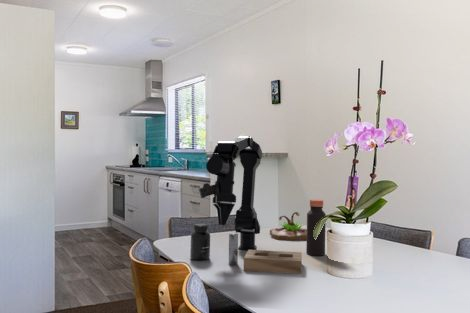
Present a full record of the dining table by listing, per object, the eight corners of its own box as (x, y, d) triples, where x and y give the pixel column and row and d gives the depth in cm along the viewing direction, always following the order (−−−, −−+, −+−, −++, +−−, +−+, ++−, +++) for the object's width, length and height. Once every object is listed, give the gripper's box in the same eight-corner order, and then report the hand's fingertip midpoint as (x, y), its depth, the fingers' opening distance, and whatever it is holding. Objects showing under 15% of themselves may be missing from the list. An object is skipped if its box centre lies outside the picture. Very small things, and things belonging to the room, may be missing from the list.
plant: (318, 242, 189) (318, 215, 189) (272, 241, 189) (272, 215, 189) (310, 233, 209) (310, 209, 209) (268, 232, 209) (269, 208, 209)
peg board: (248, 261, 152) (248, 249, 152) (301, 264, 150) (301, 252, 150) (243, 270, 141) (243, 257, 141) (301, 273, 138) (301, 260, 138)
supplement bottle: (207, 261, 151) (207, 226, 151) (187, 260, 152) (188, 225, 152) (212, 257, 158) (212, 223, 158) (193, 255, 159) (194, 222, 159)
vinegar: (302, 254, 164) (303, 200, 164) (312, 251, 169) (313, 198, 169) (318, 257, 160) (319, 201, 160) (328, 254, 165) (329, 200, 164)
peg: (229, 262, 150) (229, 233, 150) (238, 263, 149) (238, 233, 149) (227, 265, 147) (228, 235, 147) (236, 265, 147) (237, 235, 146)
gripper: (200, 178, 158) (196, 222, 155) (202, 173, 139) (198, 223, 137) (231, 181, 159) (227, 225, 157) (238, 176, 141) (234, 226, 138)
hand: (221, 224), depth 147 cm, fingers open, 9 cm apart
